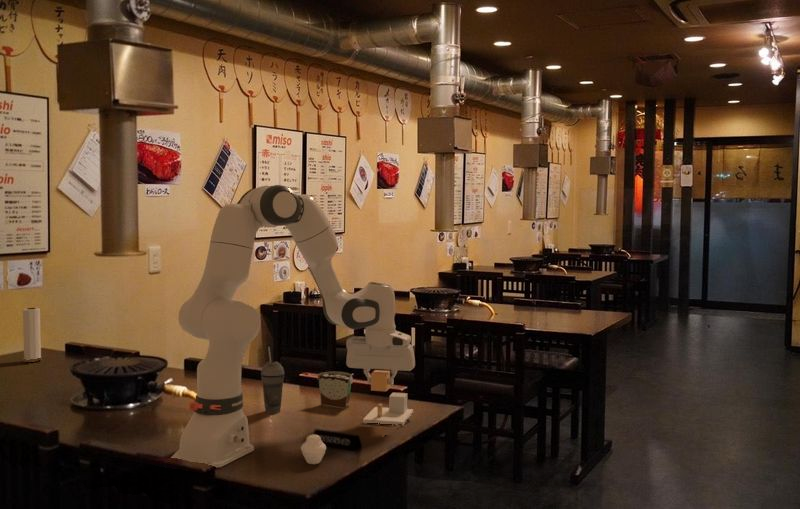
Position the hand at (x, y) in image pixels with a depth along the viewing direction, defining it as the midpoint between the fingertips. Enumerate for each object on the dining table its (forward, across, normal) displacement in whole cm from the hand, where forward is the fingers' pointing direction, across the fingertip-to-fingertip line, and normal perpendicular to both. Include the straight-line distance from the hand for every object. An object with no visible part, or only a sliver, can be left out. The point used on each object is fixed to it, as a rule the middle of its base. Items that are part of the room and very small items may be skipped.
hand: (380, 383), depth 222 cm
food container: (+11, -17, +14) cm, 25 cm away
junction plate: (+11, +2, +2) cm, 11 cm away
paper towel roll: (+11, -154, +45) cm, 161 cm away
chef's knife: (+11, +5, -8) cm, 15 cm away
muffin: (+11, -7, -39) cm, 41 cm away
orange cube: (+2, 0, 0) cm, 2 cm away
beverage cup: (+11, -34, +1) cm, 36 cm away
